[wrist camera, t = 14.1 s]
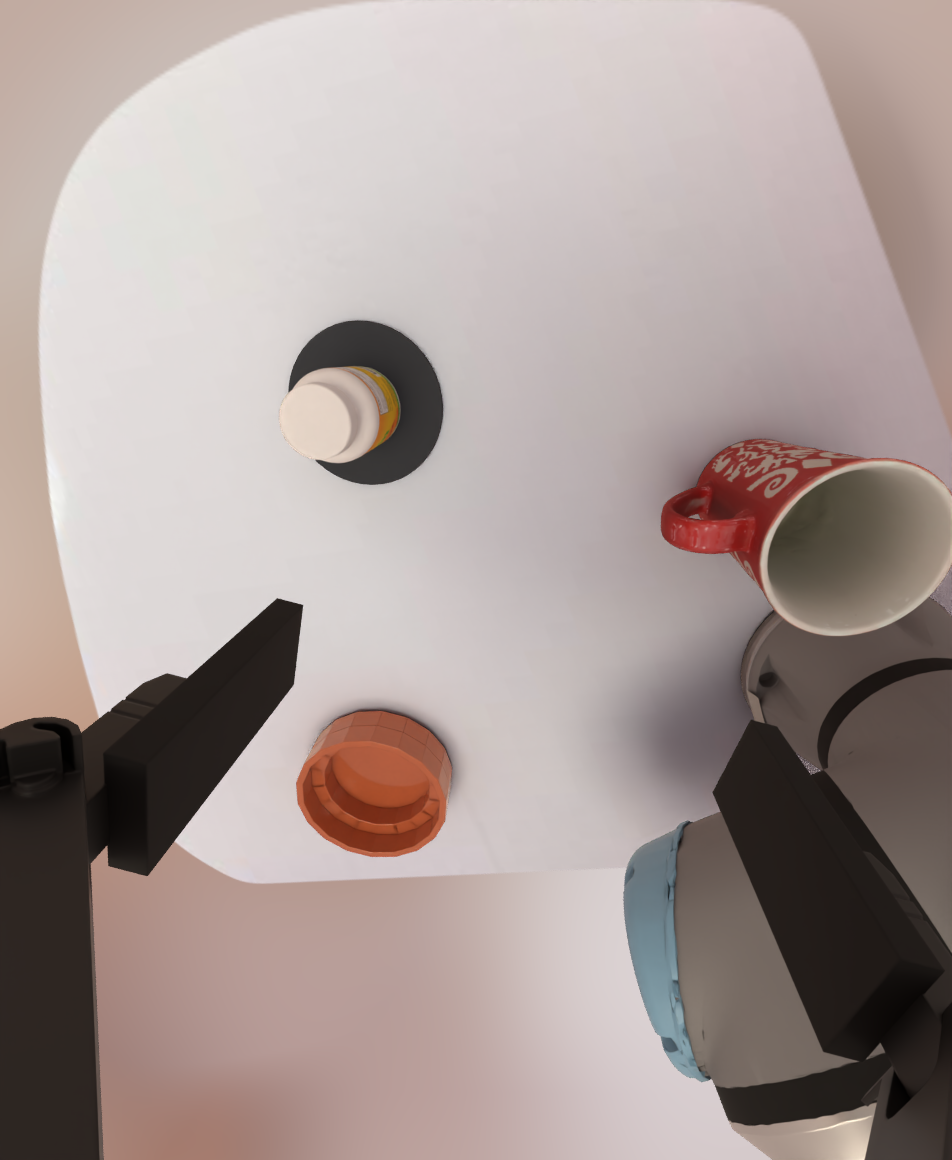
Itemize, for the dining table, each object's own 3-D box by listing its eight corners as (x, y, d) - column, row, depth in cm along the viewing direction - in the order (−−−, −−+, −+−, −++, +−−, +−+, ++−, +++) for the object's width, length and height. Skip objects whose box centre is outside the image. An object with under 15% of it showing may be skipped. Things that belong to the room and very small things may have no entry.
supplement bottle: (353, 459, 39) (302, 490, 30) (311, 390, 37) (245, 401, 28) (416, 423, 38) (382, 445, 29) (375, 350, 36) (327, 349, 27)
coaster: (475, 406, 37) (474, 406, 37) (375, 513, 41) (374, 514, 40) (355, 282, 35) (353, 281, 34) (260, 407, 38) (258, 408, 38)
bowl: (481, 770, 50) (478, 807, 46) (389, 838, 54) (379, 878, 50) (375, 682, 47) (361, 713, 43) (287, 761, 51) (266, 797, 47)
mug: (834, 427, 36) (998, 465, 23) (796, 553, 39) (921, 644, 27) (644, 417, 37) (705, 448, 24) (623, 541, 40) (668, 625, 28)
